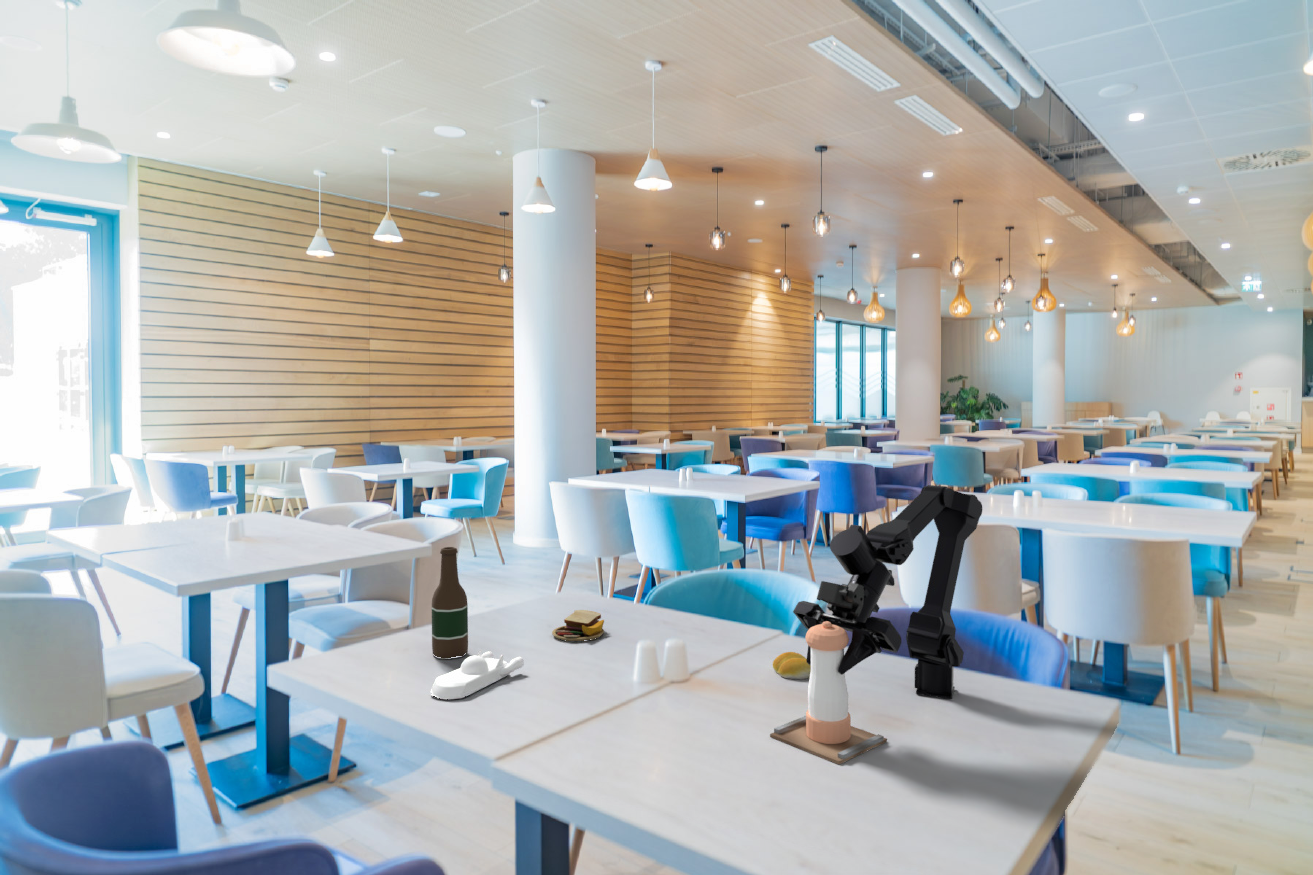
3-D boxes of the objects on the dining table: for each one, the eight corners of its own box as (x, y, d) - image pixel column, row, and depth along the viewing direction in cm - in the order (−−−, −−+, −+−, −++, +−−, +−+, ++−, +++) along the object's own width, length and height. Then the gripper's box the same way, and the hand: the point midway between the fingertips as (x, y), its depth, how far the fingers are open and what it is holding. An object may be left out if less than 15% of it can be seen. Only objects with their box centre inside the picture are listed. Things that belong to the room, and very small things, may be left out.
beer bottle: (475, 652, 183) (474, 546, 182) (449, 662, 177) (448, 552, 176) (451, 647, 188) (449, 543, 187) (424, 656, 181) (423, 548, 180)
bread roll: (786, 682, 164) (786, 662, 164) (767, 668, 172) (767, 650, 172) (823, 678, 166) (823, 659, 166) (803, 665, 175) (803, 646, 175)
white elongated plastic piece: (416, 696, 157) (416, 666, 157) (485, 666, 174) (485, 639, 174) (458, 705, 152) (457, 675, 152) (524, 674, 170) (524, 646, 169)
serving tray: (818, 717, 145) (818, 710, 145) (887, 741, 134) (887, 734, 134) (770, 736, 137) (770, 729, 137) (838, 764, 126) (838, 756, 126)
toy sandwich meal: (541, 638, 195) (541, 618, 195) (576, 625, 207) (576, 607, 207) (582, 646, 189) (582, 626, 188) (616, 632, 200) (616, 613, 200)
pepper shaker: (852, 727, 138) (851, 616, 137) (848, 746, 131) (847, 630, 130) (809, 722, 140) (807, 613, 139) (803, 741, 134) (801, 627, 132)
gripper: (799, 555, 144) (757, 628, 137) (891, 571, 130) (850, 654, 123) (827, 592, 149) (788, 664, 143) (918, 611, 135) (880, 693, 129)
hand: (823, 668), depth 134 cm, fingers closed on pepper shaker, 6 cm apart
